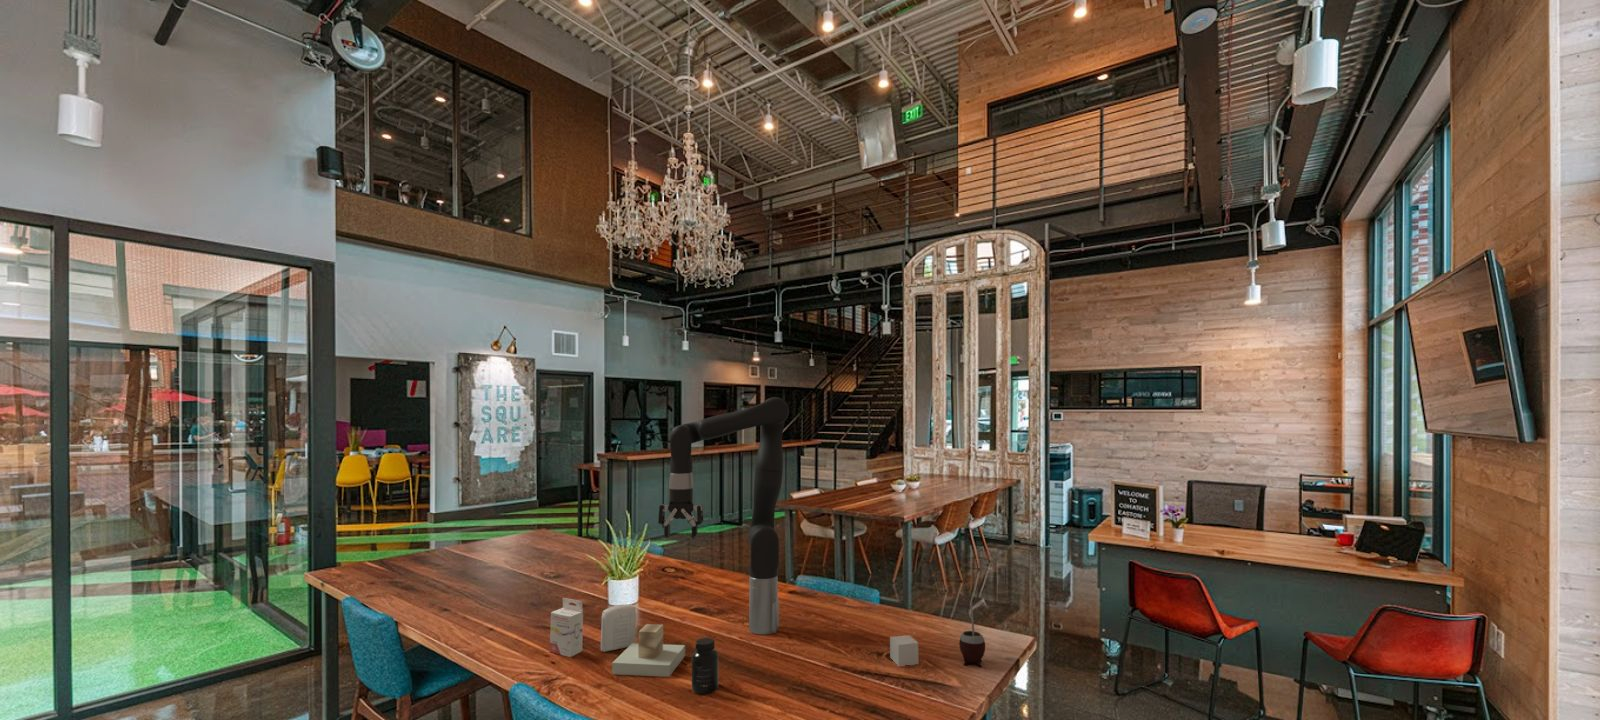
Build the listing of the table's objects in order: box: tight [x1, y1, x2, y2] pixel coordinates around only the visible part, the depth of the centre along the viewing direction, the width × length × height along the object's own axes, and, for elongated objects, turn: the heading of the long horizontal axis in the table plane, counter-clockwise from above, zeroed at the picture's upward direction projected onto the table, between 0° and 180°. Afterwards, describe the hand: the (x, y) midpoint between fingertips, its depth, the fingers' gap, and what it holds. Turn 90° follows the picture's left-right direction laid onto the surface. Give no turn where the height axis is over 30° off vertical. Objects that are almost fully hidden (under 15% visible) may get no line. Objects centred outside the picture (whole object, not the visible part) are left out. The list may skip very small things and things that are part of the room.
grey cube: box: [889, 634, 920, 667], centre depth 175 cm, size 6×6×6 cm
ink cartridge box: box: [549, 597, 584, 658], centre depth 183 cm, size 9×5×15 cm, turn 65°
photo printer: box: [600, 603, 637, 653], centre depth 187 cm, size 10×4×12 cm, turn 123°
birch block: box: [637, 623, 664, 658], centre depth 174 cm, size 5×6×7 cm
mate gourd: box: [958, 602, 986, 669], centre depth 174 cm, size 8×8×15 cm
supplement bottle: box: [691, 637, 719, 695], centre depth 159 cm, size 7×7×12 cm
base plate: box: [611, 642, 686, 678], centre depth 174 cm, size 16×14×3 cm
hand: (680, 537), depth 199 cm, fingers open, 8 cm apart
